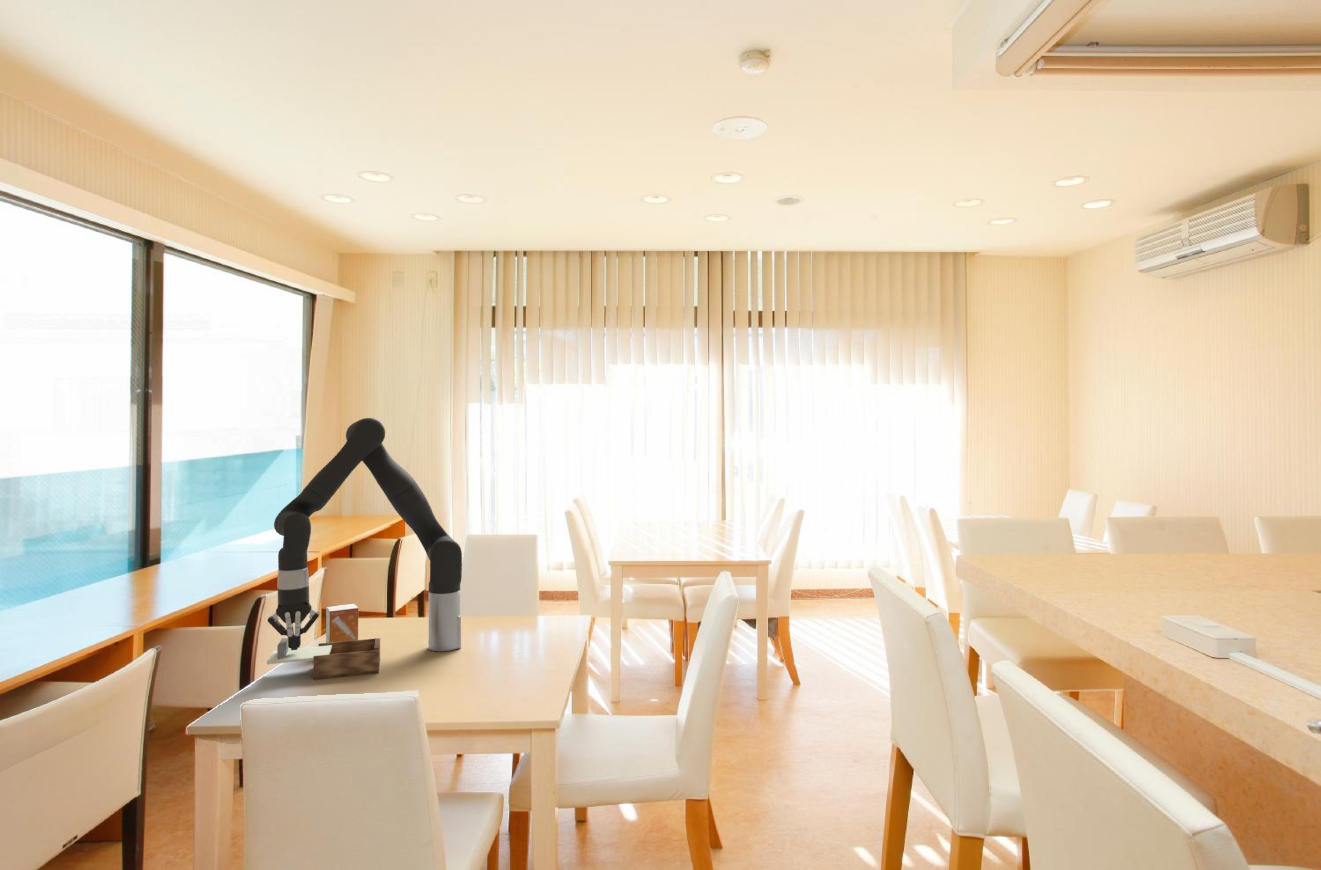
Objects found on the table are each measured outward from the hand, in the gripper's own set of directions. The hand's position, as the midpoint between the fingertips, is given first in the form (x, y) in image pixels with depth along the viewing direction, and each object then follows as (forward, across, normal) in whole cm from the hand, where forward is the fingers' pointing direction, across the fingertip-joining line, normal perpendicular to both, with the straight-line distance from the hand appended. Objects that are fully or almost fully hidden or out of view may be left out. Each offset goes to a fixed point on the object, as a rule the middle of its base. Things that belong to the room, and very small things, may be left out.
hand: (294, 649), depth 192 cm
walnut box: (+7, -13, 0) cm, 15 cm away
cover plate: (+2, -1, 0) cm, 2 cm away
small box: (+7, -10, -19) cm, 23 cm away
